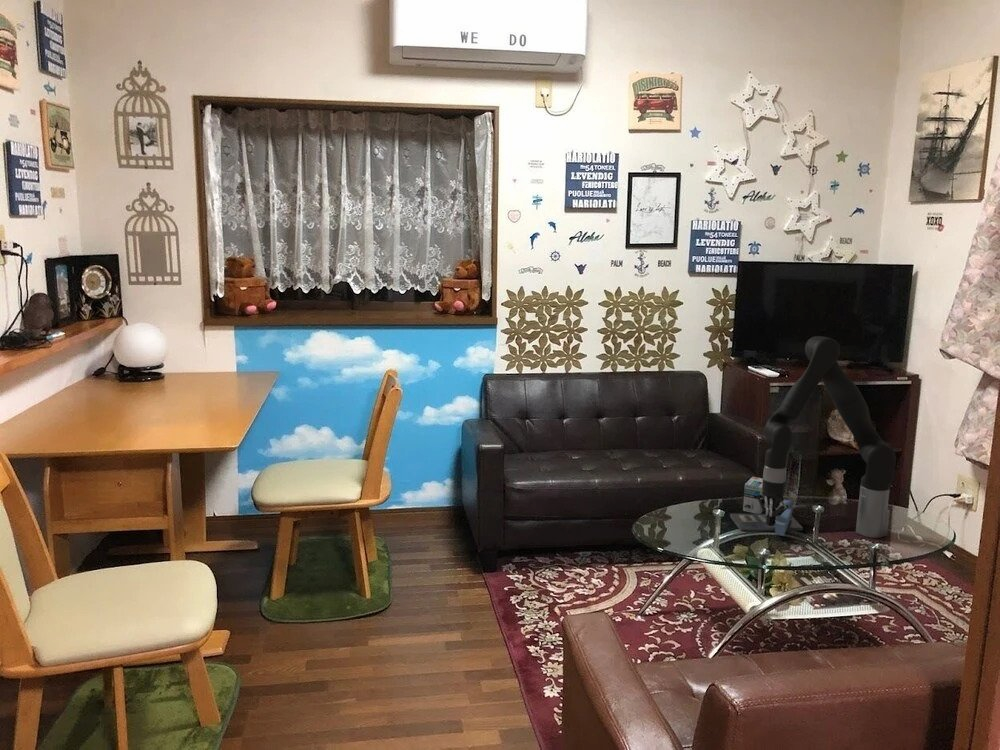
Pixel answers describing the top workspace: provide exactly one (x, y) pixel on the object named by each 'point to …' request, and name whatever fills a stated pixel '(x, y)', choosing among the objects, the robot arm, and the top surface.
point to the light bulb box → (753, 495)
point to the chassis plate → (760, 523)
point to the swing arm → (784, 519)
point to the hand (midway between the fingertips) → (770, 525)
